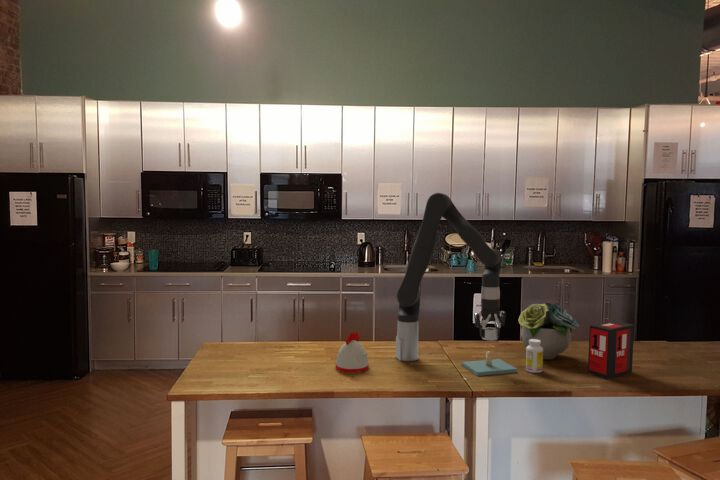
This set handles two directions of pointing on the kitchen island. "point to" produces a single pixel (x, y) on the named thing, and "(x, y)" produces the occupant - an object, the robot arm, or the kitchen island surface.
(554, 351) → the flower arrangement
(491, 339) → the steel hub
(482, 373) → the post stand
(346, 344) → the grey beanie hat
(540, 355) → the supplement bottle
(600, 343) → the cleaning product box
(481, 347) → the kitchen island surface
